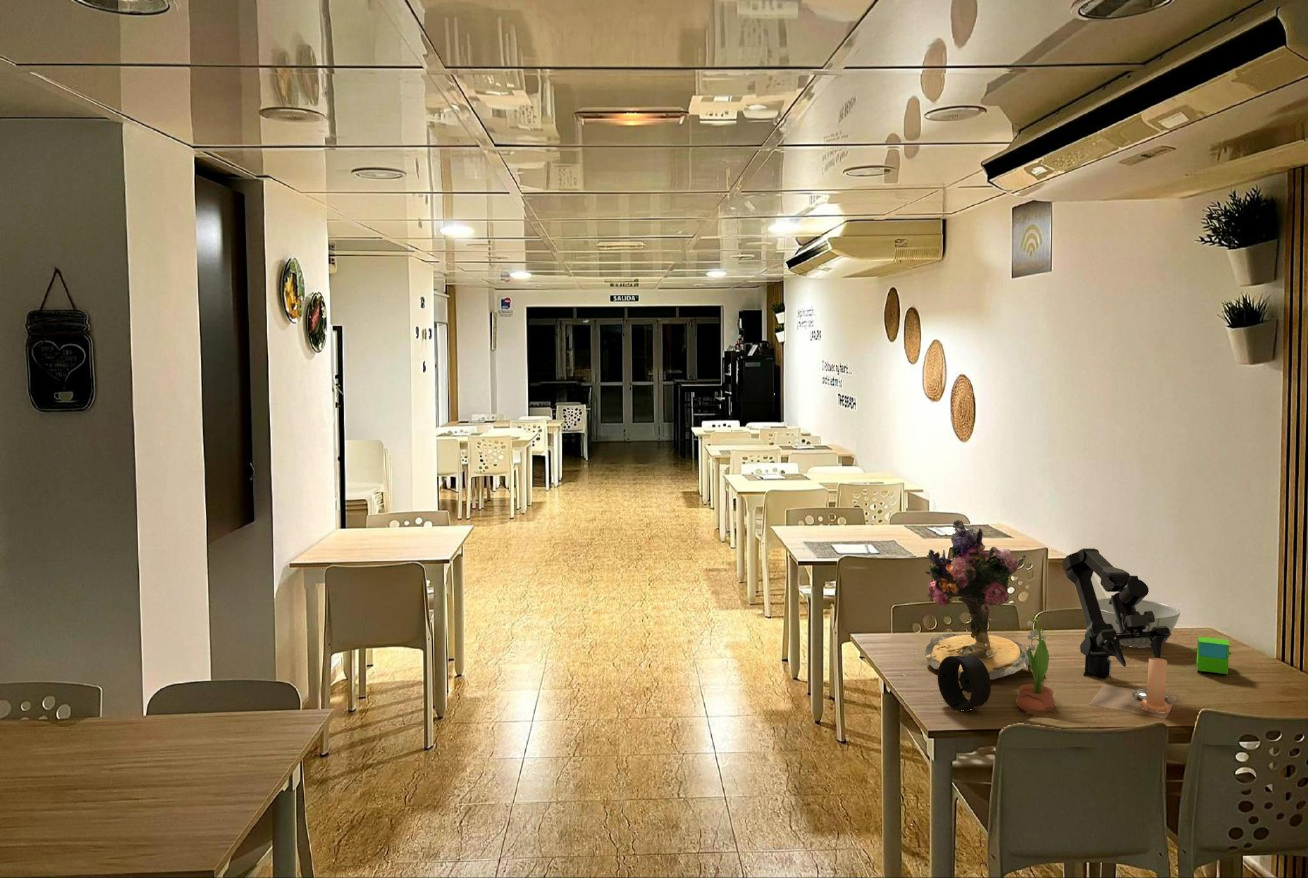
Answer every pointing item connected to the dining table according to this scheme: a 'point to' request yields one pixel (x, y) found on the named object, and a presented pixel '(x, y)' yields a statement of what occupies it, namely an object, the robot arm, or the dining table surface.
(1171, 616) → the decorative bowl
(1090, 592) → the robot arm
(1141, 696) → the gear
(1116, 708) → the gear board
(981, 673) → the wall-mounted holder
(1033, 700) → the potted flower
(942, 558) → the bouquet
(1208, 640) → the blue-striped green cube
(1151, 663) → the gear spool
